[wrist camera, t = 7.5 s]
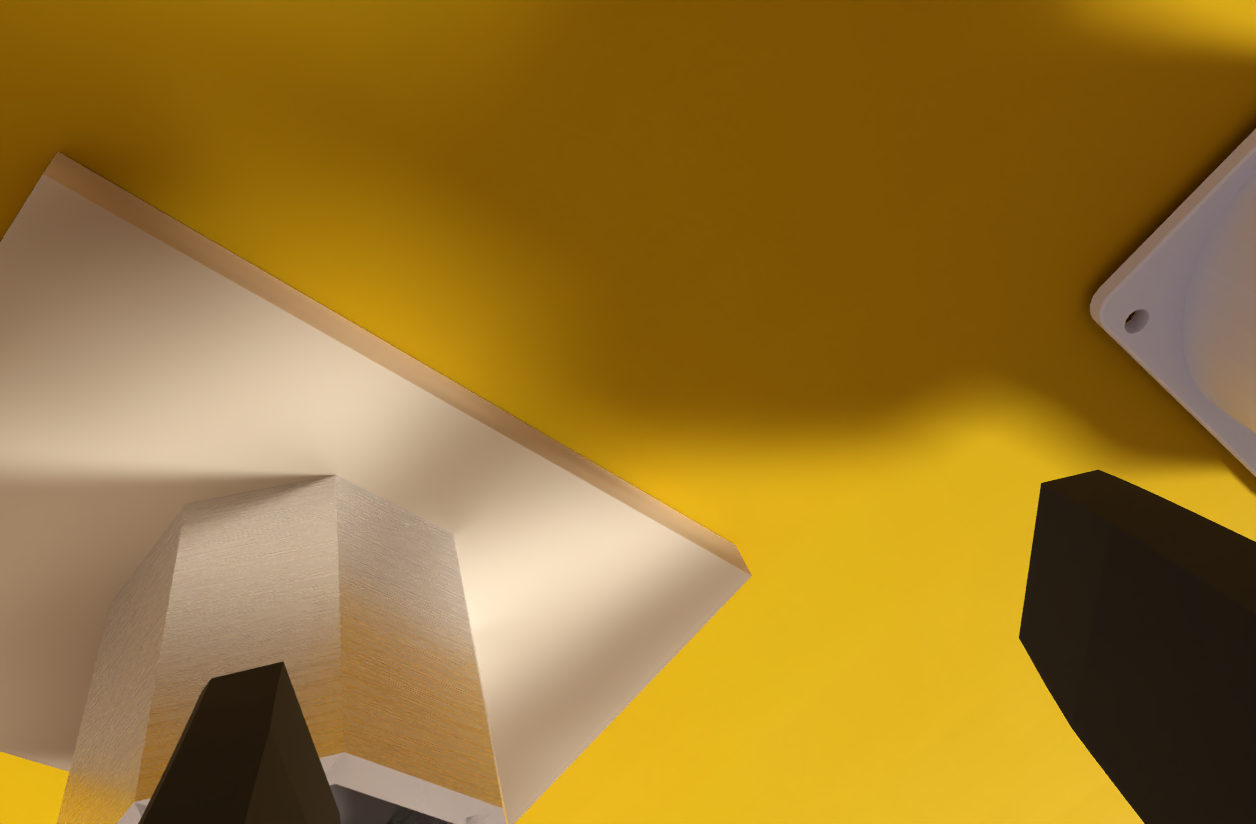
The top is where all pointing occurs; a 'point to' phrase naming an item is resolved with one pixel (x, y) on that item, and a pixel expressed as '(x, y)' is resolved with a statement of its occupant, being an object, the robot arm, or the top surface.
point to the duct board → (298, 479)
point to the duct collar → (297, 651)
